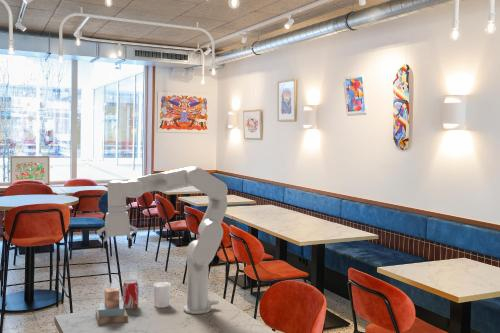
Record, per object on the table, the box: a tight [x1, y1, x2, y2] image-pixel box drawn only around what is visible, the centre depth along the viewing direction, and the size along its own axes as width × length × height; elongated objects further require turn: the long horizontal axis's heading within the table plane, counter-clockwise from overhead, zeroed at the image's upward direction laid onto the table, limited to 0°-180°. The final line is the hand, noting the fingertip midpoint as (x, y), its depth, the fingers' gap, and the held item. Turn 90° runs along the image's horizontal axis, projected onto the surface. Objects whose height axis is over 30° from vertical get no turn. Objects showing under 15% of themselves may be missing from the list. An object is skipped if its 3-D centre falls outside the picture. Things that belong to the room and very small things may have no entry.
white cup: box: [152, 281, 172, 309], centre depth 241 cm, size 8×8×10 cm
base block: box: [95, 307, 129, 325], centre depth 223 cm, size 12×12×3 cm
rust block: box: [104, 287, 120, 308], centre depth 223 cm, size 5×5×7 cm
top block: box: [97, 300, 125, 317], centre depth 223 cm, size 10×10×3 cm
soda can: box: [122, 279, 140, 310], centre depth 238 cm, size 7×7×12 cm
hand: (118, 249), depth 224 cm, fingers open, 9 cm apart
